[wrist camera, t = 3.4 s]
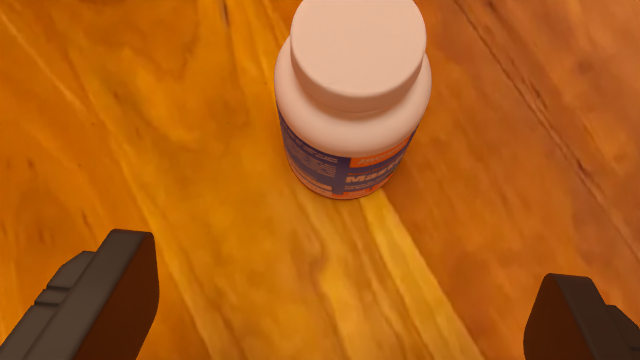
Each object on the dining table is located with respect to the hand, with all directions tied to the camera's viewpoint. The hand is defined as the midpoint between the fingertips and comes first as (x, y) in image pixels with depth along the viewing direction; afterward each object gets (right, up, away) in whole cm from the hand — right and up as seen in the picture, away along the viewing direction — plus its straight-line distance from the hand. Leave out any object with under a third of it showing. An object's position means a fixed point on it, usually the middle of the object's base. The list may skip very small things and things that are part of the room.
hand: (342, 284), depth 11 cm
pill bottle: (+1, +4, +14) cm, 14 cm away
